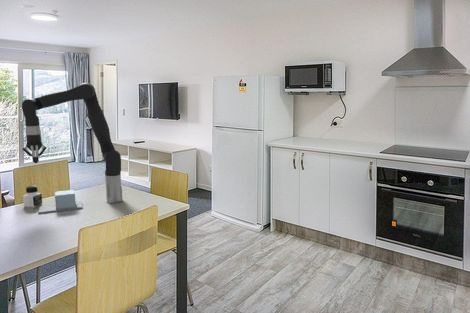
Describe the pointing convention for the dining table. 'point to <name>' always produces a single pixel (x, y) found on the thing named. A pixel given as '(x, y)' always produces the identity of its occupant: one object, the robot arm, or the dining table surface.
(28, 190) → the medicine bottle
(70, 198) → the cover
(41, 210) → the housing base
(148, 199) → the dining table surface
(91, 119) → the robot arm
